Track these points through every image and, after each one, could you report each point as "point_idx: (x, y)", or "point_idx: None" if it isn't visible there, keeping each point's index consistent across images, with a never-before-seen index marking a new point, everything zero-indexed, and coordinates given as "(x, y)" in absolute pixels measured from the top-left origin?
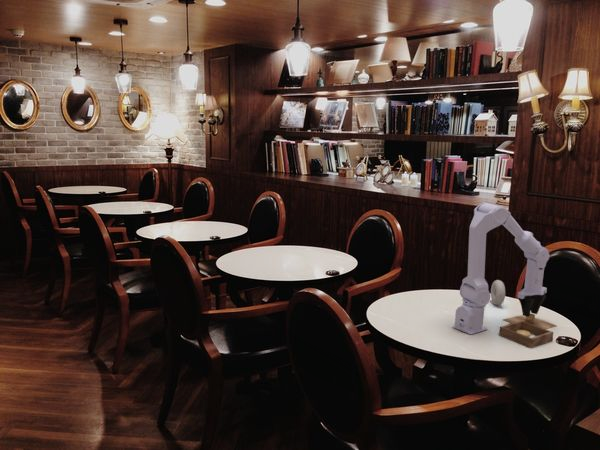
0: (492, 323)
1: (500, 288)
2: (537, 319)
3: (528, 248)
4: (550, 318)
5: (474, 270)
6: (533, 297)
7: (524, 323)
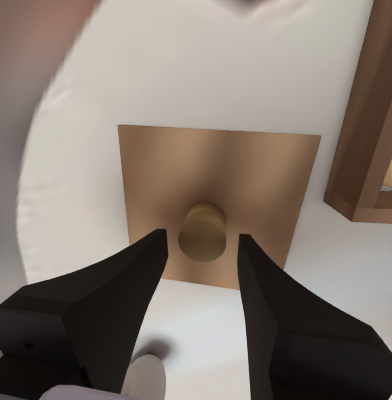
0: (356, 297)
1: None
2: (137, 221)
3: None
4: (70, 201)
5: None
6: (119, 354)
7: (374, 188)
